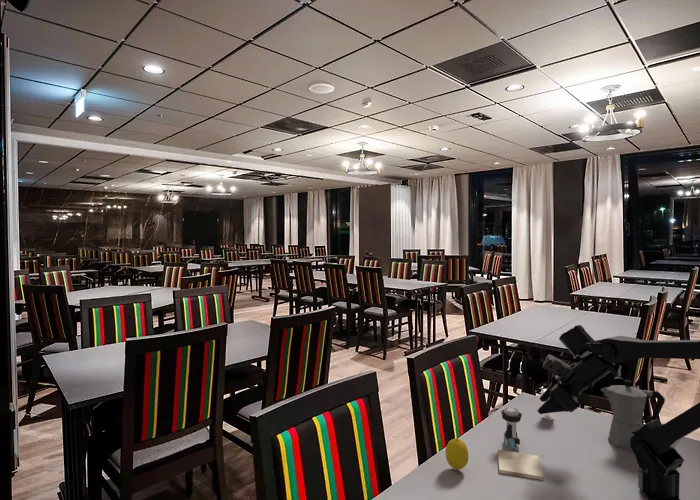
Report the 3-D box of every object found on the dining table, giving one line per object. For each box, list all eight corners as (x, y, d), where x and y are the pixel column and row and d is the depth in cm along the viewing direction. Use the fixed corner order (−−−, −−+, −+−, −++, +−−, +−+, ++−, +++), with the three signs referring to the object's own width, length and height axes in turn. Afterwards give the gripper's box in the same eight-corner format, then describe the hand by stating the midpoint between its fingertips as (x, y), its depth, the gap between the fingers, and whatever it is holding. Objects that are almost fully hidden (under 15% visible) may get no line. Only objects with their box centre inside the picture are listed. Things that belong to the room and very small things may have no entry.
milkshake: (535, 416, 132) (535, 386, 132) (547, 413, 135) (547, 383, 134) (547, 422, 128) (548, 391, 128) (559, 419, 131) (559, 388, 130)
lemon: (452, 477, 98) (452, 445, 98) (441, 465, 103) (441, 434, 103) (472, 474, 100) (473, 442, 99) (460, 462, 105) (461, 431, 105)
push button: (528, 451, 110) (528, 415, 110) (510, 453, 110) (510, 416, 109) (514, 439, 117) (515, 405, 117) (497, 441, 116) (497, 406, 116)
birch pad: (538, 458, 107) (538, 455, 107) (543, 480, 97) (543, 476, 97) (497, 452, 110) (497, 449, 110) (499, 472, 100) (499, 469, 100)
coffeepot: (605, 447, 113) (606, 383, 112) (595, 432, 122) (596, 372, 121) (671, 456, 108) (672, 389, 108) (656, 440, 117) (657, 378, 117)
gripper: (563, 339, 115) (520, 372, 121) (562, 355, 99) (513, 392, 104) (595, 371, 112) (549, 403, 117) (599, 393, 95) (546, 429, 101)
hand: (539, 406), depth 110 cm, fingers open, 9 cm apart
